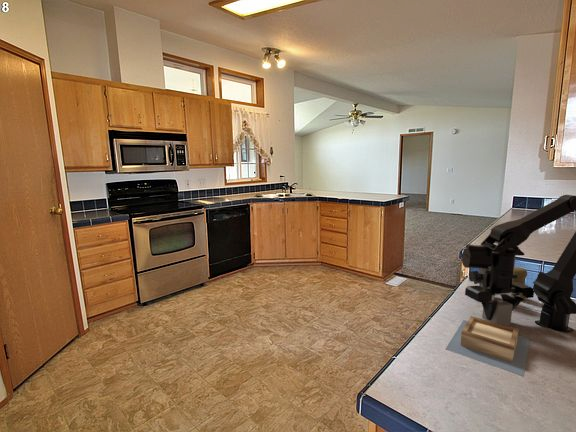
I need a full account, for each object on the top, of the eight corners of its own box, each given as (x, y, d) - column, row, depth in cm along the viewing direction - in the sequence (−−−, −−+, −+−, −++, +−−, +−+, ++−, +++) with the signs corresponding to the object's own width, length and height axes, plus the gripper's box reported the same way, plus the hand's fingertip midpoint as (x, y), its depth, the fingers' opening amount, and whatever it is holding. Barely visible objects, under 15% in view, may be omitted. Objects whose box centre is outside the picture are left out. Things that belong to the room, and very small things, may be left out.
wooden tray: (469, 328, 89) (470, 316, 89) (517, 342, 82) (518, 329, 82) (460, 345, 81) (461, 331, 80) (512, 362, 74) (514, 347, 73)
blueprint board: (463, 322, 94) (463, 320, 94) (529, 341, 84) (530, 338, 84) (444, 351, 79) (445, 348, 79) (523, 379, 69) (523, 376, 69)
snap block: (495, 318, 97) (498, 295, 95) (510, 327, 92) (513, 301, 91) (481, 320, 96) (484, 296, 94) (495, 328, 91) (498, 303, 90)
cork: (529, 301, 109) (533, 271, 107) (509, 300, 110) (513, 270, 109) (520, 294, 115) (523, 265, 113) (501, 293, 116) (505, 264, 114)
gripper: (504, 259, 101) (499, 304, 103) (454, 262, 97) (450, 309, 99) (538, 270, 90) (531, 320, 92) (482, 274, 86) (477, 327, 89)
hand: (496, 318), depth 93 cm, fingers closed on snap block, 5 cm apart
